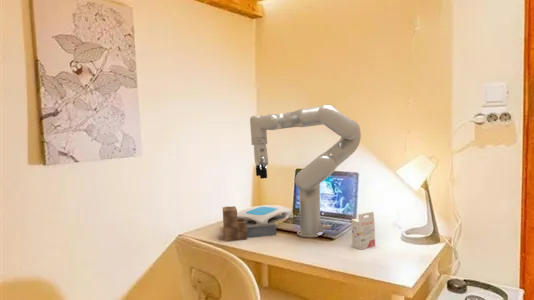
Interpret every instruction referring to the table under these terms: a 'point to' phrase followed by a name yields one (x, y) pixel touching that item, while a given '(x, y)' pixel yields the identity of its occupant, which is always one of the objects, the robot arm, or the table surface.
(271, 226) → the grey rectangular block
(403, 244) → the table surface
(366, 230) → the ink cartridge box
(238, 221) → the brown stepped block
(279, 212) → the white step stool
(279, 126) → the robot arm
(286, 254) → the table surface
